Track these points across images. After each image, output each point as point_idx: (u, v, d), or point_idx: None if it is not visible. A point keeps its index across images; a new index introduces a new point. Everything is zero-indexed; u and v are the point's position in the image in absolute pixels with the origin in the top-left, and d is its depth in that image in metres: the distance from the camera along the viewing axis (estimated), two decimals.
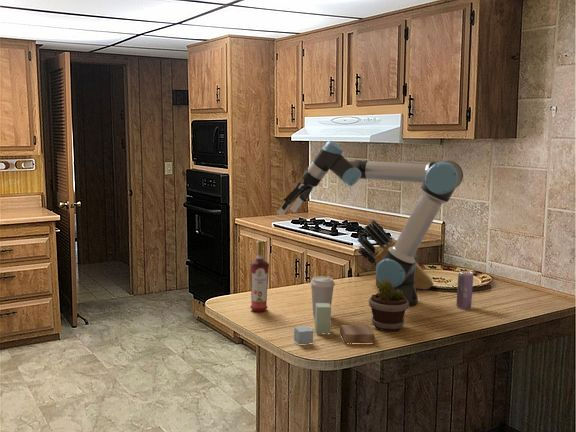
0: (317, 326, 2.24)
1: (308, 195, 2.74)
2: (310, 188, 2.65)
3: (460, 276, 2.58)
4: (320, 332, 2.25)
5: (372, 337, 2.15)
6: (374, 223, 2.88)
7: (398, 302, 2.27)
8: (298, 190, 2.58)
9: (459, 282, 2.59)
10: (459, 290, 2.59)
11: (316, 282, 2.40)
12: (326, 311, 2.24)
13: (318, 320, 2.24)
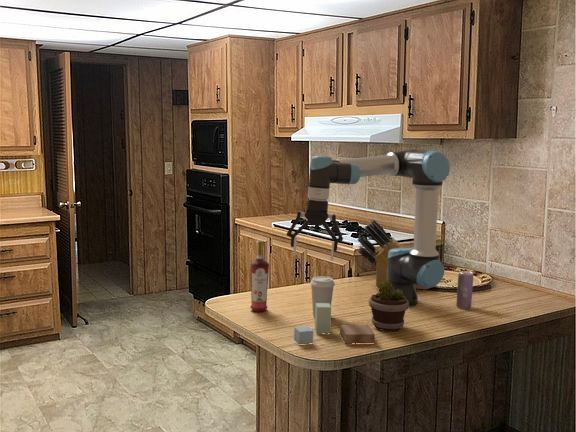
0: (317, 326, 2.24)
1: None
2: None
3: (460, 276, 2.58)
4: (320, 332, 2.25)
5: (372, 337, 2.15)
6: (374, 223, 2.88)
7: (398, 302, 2.27)
8: None
9: (459, 282, 2.59)
10: (459, 290, 2.59)
11: (316, 282, 2.40)
12: (326, 311, 2.24)
13: (318, 320, 2.24)
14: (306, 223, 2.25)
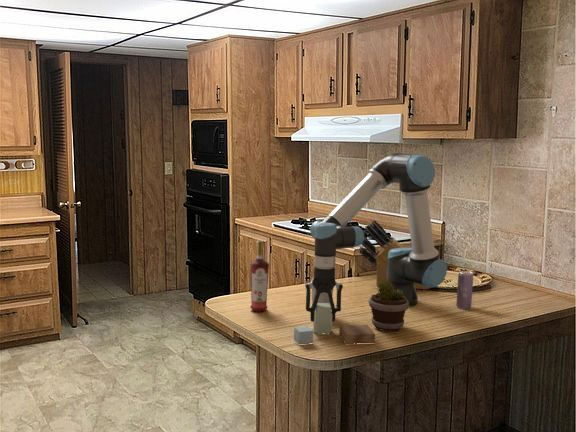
0: (317, 326, 2.24)
1: None
2: None
3: (460, 276, 2.58)
4: (320, 332, 2.25)
5: (373, 337, 2.16)
6: (375, 223, 2.88)
7: (398, 302, 2.27)
8: None
9: (459, 282, 2.59)
10: (459, 290, 2.59)
11: None
12: (326, 311, 2.24)
13: (318, 320, 2.24)
14: (318, 293, 2.23)
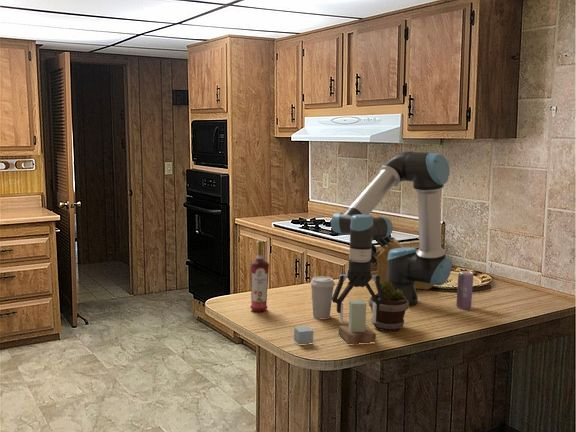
0: (352, 323, 2.17)
1: None
2: None
3: (460, 276, 2.58)
4: (355, 330, 2.17)
5: (374, 336, 2.16)
6: None
7: (398, 302, 2.27)
8: None
9: (459, 282, 2.59)
10: (459, 290, 2.59)
11: (316, 282, 2.40)
12: (361, 307, 2.16)
13: (353, 317, 2.16)
14: (351, 286, 2.15)
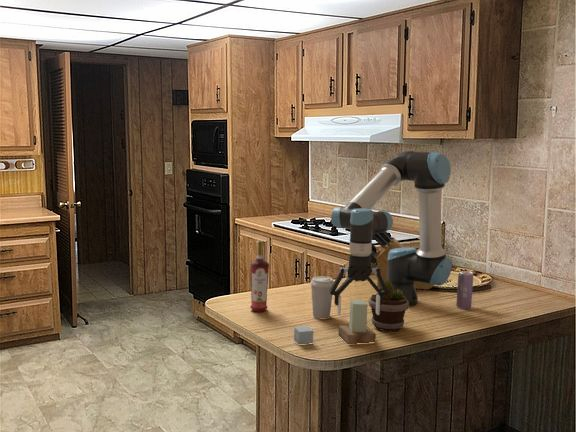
0: (353, 324, 2.16)
1: None
2: None
3: (460, 276, 2.58)
4: (356, 330, 2.17)
5: (374, 336, 2.16)
6: None
7: (398, 302, 2.27)
8: None
9: (459, 282, 2.59)
10: (459, 290, 2.59)
11: (316, 282, 2.40)
12: (362, 308, 2.16)
13: (354, 318, 2.16)
14: (351, 280, 2.15)
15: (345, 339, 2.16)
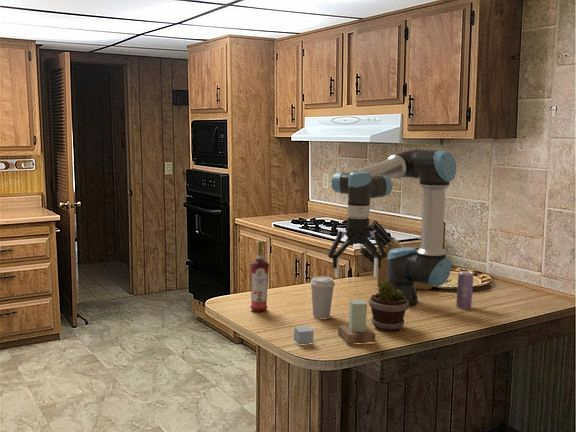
0: (352, 323, 2.17)
1: (331, 249, 2.18)
2: None
3: (460, 276, 2.58)
4: (355, 330, 2.17)
5: (373, 336, 2.16)
6: (376, 223, 2.88)
7: (398, 302, 2.27)
8: None
9: (459, 282, 2.59)
10: (459, 290, 2.59)
11: (316, 282, 2.40)
12: (361, 307, 2.16)
13: (353, 317, 2.16)
14: (349, 243, 2.16)
15: (345, 339, 2.17)
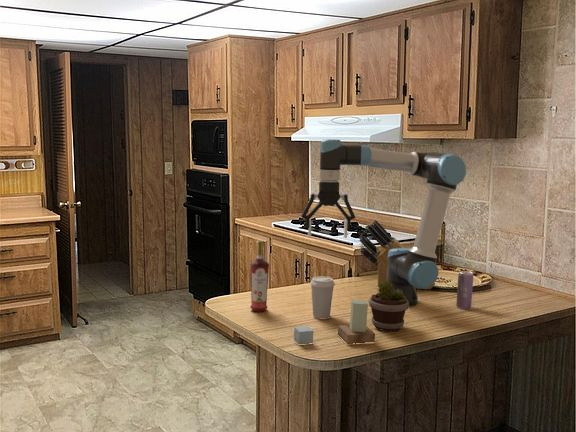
0: (352, 323, 2.17)
1: None
2: None
3: (460, 276, 2.58)
4: (356, 330, 2.17)
5: (373, 336, 2.16)
6: (376, 223, 2.88)
7: (398, 302, 2.27)
8: None
9: (459, 282, 2.59)
10: (459, 290, 2.59)
11: (316, 282, 2.40)
12: (362, 307, 2.16)
13: (354, 317, 2.17)
14: (320, 204, 2.35)
15: (344, 339, 2.17)
